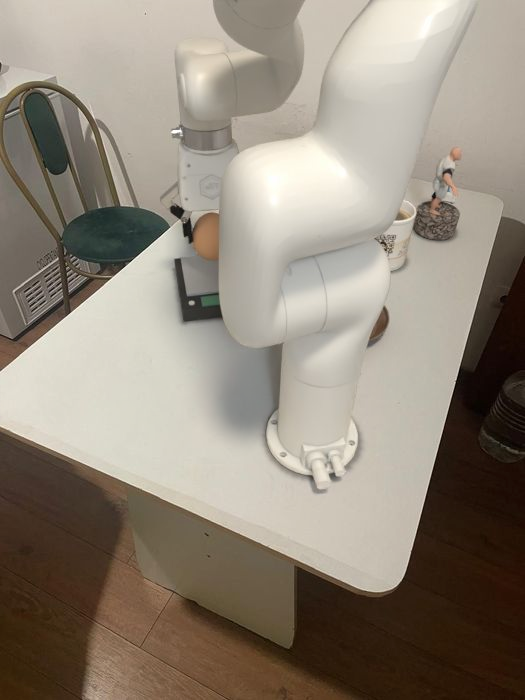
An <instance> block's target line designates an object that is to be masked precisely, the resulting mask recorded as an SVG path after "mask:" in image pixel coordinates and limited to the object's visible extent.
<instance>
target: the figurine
mask: <svg viewBox="0 0 525 700" xmlns="http://www.w3.org/2000/svg"><path fill="white" fill-rule="evenodd" d="M461 160H462V150H461V149H460V148H459V147H458V146H457V147H453V148H452V149H451V150H450V153H448V154H446V155H444V156H443V157H442V158H440V159H439V160H438V162H437V164H436V166H435V177H434V179H433V181H432V189H433V191H434V192H433V193H432V194H431V200H427V201H424V202H421V203H420V204H419V205H418V206H417V209H416V212H417V213H416V217H415V222H414V226H413V230H414V231H415V233H416V234H418V235H419V236H421V237H422V238H425V239H427V240H428V239H429V240H433V241H444V240H449V239H450V238H452V237H454V235H455V233H456V230H457V226H458V223H459V220H460V217H461V212H460V210H459V209H458V208H457V206H456V205H455V206H454V204H455V203H456V199H457V196H458V195H459V194H458V192H459V189H458V188H457V187H456V185H455V184H454V183H453V180H452V179H453V176H454V172H455V170H456V168H457V166H458V165H457V162H456V161H461ZM450 188H451V191H450Z"/></svg>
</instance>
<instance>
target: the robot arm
mask: <svg viewBox="0 0 525 700" xmlns="http://www.w3.org/2000/svg"><path fill="white" fill-rule="evenodd" d="M480 1H481V0H369V1H368V2H367V4H366V5H365V6H364V8H363V9H362V10H361V11H360V12H359V13H358V14H357V15H356V17H355V18H354V19H353V20H352V22H351V23H350V24H349V26H348V27H347V29H346V30H345V31H344V33H343V34H342V36H341V38H340V39H339V42H338V43H337V45H336V46H335V48H334V49H333V51H332V53H331V56H330V57H329V59H328V61H327V63H326V66H325V68H324V71H323V75H322V79H321V84H320V89H319V97H318V105H317V109H316V110H317V111H316V115H315V119H314V123H313V125H312V127H311V128H310V130H308V131H307V132H306V133H304V134H303V135H301V136H298V137H297V136H296V137H293V138H286V139H280V140H274V141H269V142H264V143H259V144H256V145H252V146H249V147H247V148H245V149H243V150H242V151H240V150H239V146H238V143H237V142H236V140H235V139H234V138H233V131H232V128H233V127H232V125H233V124H232V122H233V121H232V118H237V117H245V116H251V115H260V114H266V113H267V114H268V113H271V112H273V111H275V110H277V109H279V108H280V107H282V106H283V105H284V104H285V103H286V102H287V101H288V99H289V97H290V96H291V95H292V93H293V91H294V90H295V88H296V87H297V86H298V84H299V82H300V80H301V77H302V74H303V70H304V64H305V63H304V62H305V40H304V34H303V30H302V26H301V24H300V21H299V18H298V16H299V13H300V11H301V9H302V7H303V6H304V3H305V2H306V0H212V5H213V6H212V7H213V10H214V14H215V17H216V20H217V22H218V24H219V25H220V27H221V29H222V30H223V32H224V33H225V34H226V35H227V36H228V37H229V38H230V39H231V40H232V41H234V42H235V43H237V44H238V45H240V46H241V47H243V48H244V50H234V51H230V49H229V47H228V46H227V45H226V43H225V42H224V41H222V40H220V39H217V38H213V37H201V36H199V37H190V38H187V39H184V40H181V41H180V42H179V43H178V44H177V45H176V46H175V48H174V65H175V77H176V78H175V79H176V89H177V98H178V109H179V110H178V111H179V118H180V119H179V124H178V126H176V127H175V128H170V130H171V138H172V139H177V140H180V141H179V142H178V146H177V157H176V159H177V160H176V161H177V162H176V173H177V174H176V177H177V181H176V182H175V183H173V185H172V186H170V187H169V188H168V189H167V190H166V191H165V192H163V194H161V195H160V197H159V200H160V204H161V205H162V206H163V207H164V208H165V209H166V210H168V211H169V213H170V214H171V215H173V216H174V217H176V218H177V219H179V220H180V222H181V225H182V234H183V238H187V242H188V244H193V236H192V230H193V227H192V225H193V224H192V220H191V216H192V213H194V212H195V213H196V212H207V211H209V212H210V211H218V214H219V300H220V307H221V312H222V316H223V317H222V320H223V322H224V326H225V327H226V329H227V331H228V333H229V334H230V336H231V337H232V338H233V339H234V340H235V341H236V342H237V343H239V344H241V345H242V346H244V347H247V348H251V349H264V348H268V347H271V346H276V345H281V344H282V349H281V351H282V352H281V364H280V365H281V367H280V380H279V381H280V382H279V398H278V399H279V401H278V402H279V403H278V408H277V409H275V410H274V412H273V413H272V414H271V416H270V417H269V420H268V421H267V425H266V429H265V430H266V431H265V432H266V433H265V434H266V436H265V437H266V444H267V447H268V449H269V451H270V453H271V454H272V456H273V457H274V459H275V460H276V461H278V463H279V464H281V465H282V466H283V467H285V468H286V469H288V470H290V471H292V472H295V473H296V474H301V475H304V476H312V477H313V480H314V483H315V487H316V489H317V490H326V489H328V488H330V487H331V486H332V484H333V483H332V480H331V478H330V474H333V473H334V475H335V477H338V478H339V477H343V476H344V475H346V473H347V471H346V469H345V467H346V466H347V465H348V464H349V463H350V462H351V461H352V459H353V458H354V456H355V454H356V452H357V448H358V442H359V433H358V432H359V431H358V429H357V425H356V424H355V422H354V420H353V418H352V415H353V411H354V408H355V407H354V406H355V402H356V398H357V397H356V396H357V392H358V388H359V383H360V378H361V375H362V369H363V365H364V360H365V356H366V351H367V347H368V344H369V342H368V341H369V338H370V335H371V332H372V330H373V328H374V325H375V323H376V321H377V319H378V317H379V315H380V313H381V311H382V309H383V307H384V305H385V304H386V301H387V299H388V296H389V293H390V289H391V280H392V271H391V270H390V263H389V260H388V257H387V254H386V252H385V250H384V249H383V247H382V246H381V244H380V243H379V242H378V241H377V240H375V239H374V238H376V237H378V236H380V235H382V234H383V233H384V232H386V231H387V230H388V229H389V228H390V227H391V225H392V224H393V222H394V221H395V219H396V217H397V215H398V212H399V210H400V207H401V205H402V202H403V199H404V198H405V196H406V194H407V190H408V188H409V185H410V181H411V179H412V176H413V172H414V169H415V166H416V163H417V160H418V158H419V155H420V152H421V149H422V147H423V142H424V140H425V137H426V133H427V131H428V127H429V124H430V121H431V118H432V113H433V110H434V108H435V105H436V102H437V99H438V97H439V94H440V92H441V91H440V90H441V88H442V85H443V82H444V81H445V78H446V76H447V74H448V72H449V70H450V67H451V65H452V62H453V61H454V58H455V57H456V54H457V52H458V50H459V48H460V46H461V44H462V42H463V40H464V39H465V35H466V34H467V32H468V29H469V27H470V25H471V23H472V20H473V18H474V16H475V14H476V11H477V9H478V6H479V4H480ZM177 196H178V197H179V202H180V205H178V204H176V203H175V202H174V201H173V200H174V199H175V198H176V197H177ZM404 200H405V199H404ZM385 306H386V305H385Z"/></svg>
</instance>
